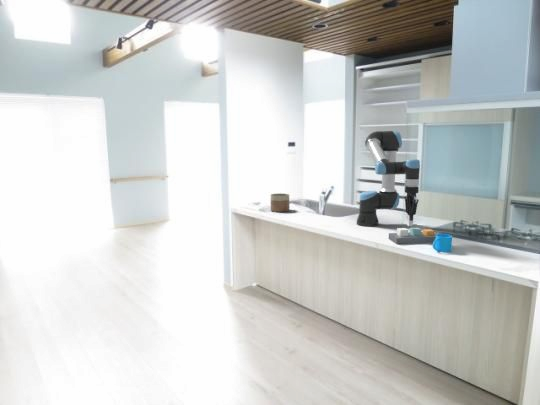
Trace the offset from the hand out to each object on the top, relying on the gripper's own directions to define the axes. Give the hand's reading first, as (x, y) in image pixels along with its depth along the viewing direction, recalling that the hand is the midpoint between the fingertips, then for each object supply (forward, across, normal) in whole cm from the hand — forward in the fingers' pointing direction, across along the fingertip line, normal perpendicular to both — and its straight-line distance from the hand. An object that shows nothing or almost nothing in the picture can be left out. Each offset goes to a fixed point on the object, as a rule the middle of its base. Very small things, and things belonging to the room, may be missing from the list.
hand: (410, 225), depth 235 cm
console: (+9, 0, +3) cm, 10 cm away
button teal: (+6, 0, +3) cm, 7 cm away
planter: (+10, -111, -61) cm, 127 cm away
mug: (+9, +22, +7) cm, 25 cm away
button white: (+6, 0, -5) cm, 7 cm away
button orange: (+7, +1, +11) cm, 14 cm away
